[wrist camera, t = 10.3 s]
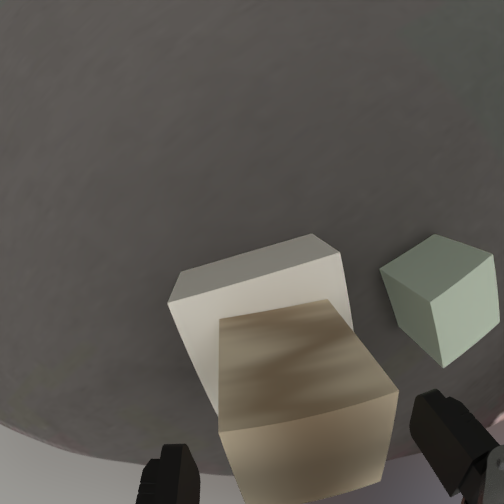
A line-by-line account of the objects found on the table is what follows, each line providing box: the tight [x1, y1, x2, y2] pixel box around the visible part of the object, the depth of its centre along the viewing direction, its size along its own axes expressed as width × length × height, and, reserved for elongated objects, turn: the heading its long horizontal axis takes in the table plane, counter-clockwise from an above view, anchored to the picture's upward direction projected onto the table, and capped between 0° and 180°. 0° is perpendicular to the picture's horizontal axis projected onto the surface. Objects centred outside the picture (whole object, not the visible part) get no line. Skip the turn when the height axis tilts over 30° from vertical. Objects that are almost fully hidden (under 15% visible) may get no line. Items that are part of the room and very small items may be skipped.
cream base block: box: [167, 233, 354, 416], centre depth 17 cm, size 8×8×5 cm
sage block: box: [379, 234, 500, 368], centre depth 17 cm, size 5×5×6 cm
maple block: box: [218, 299, 399, 504], centre depth 11 cm, size 5×5×7 cm
